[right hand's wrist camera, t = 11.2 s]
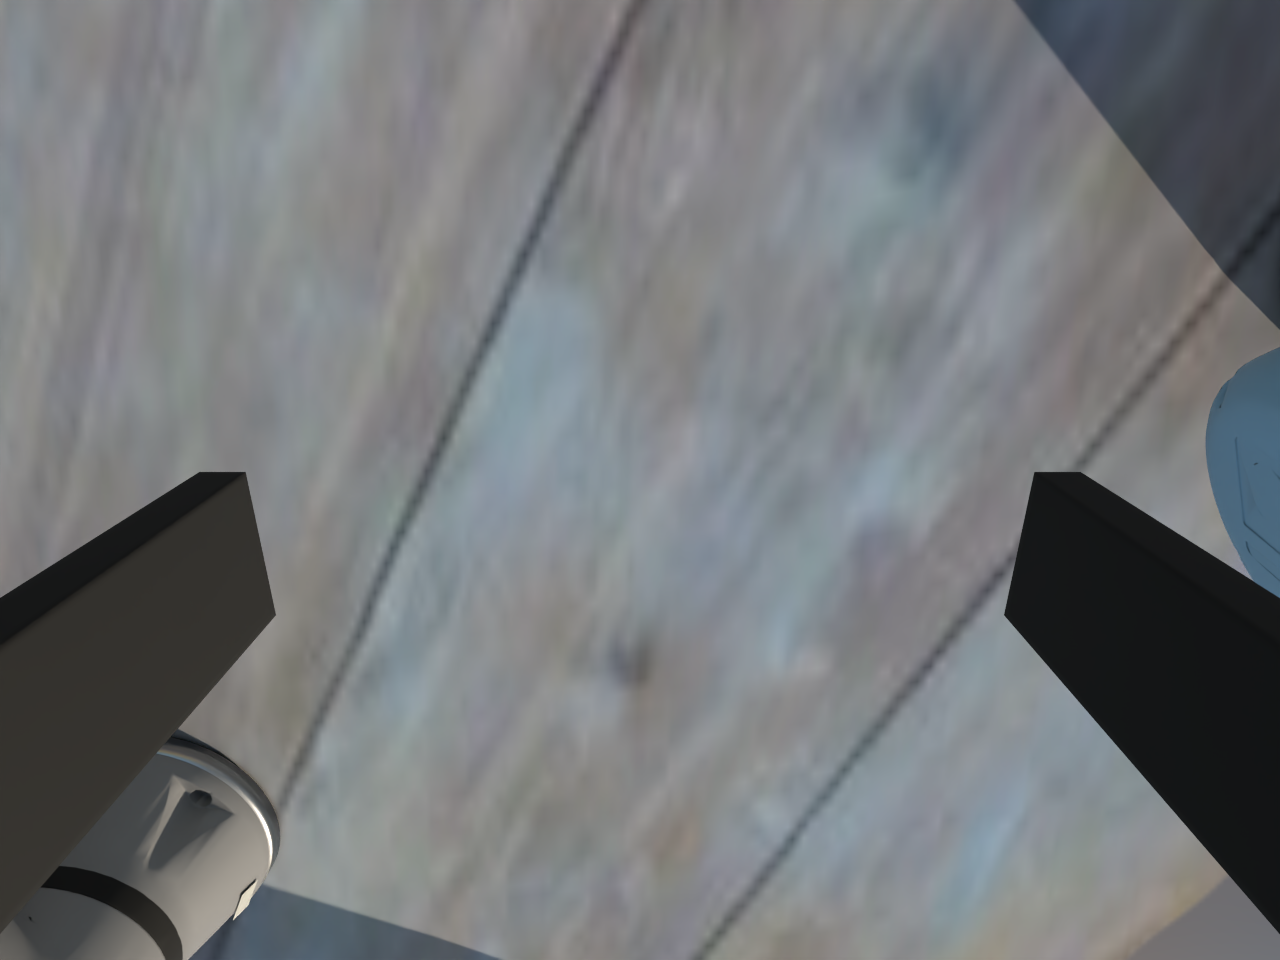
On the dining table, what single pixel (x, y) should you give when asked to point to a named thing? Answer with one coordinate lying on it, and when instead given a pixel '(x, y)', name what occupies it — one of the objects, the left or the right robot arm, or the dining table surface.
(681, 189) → the dining table surface
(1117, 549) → the right robot arm
